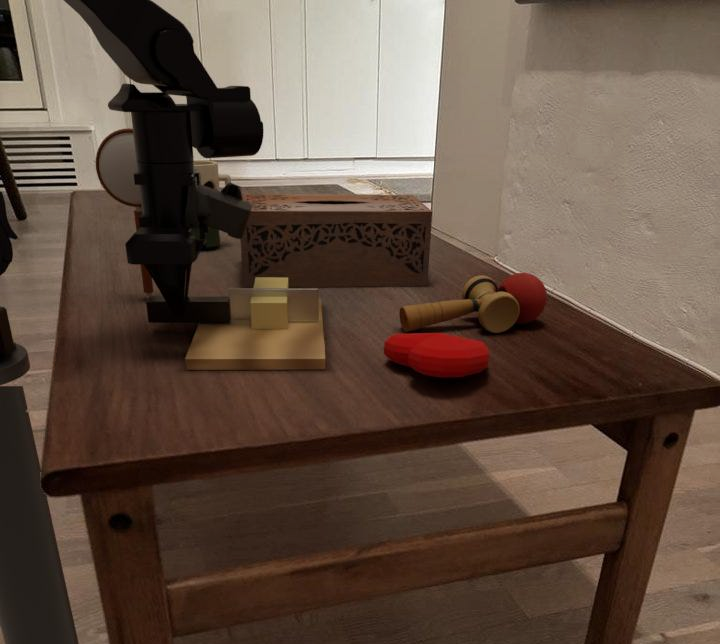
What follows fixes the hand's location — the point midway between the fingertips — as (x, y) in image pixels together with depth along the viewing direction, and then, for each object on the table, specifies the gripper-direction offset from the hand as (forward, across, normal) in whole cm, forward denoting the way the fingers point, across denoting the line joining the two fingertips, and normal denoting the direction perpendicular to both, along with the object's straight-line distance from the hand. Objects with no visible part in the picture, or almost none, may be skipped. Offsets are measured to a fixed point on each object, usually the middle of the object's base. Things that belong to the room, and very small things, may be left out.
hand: (179, 311), depth 83 cm
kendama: (+3, +2, -34) cm, 34 cm away
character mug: (+3, +44, +3) cm, 44 cm away
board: (+2, -1, -9) cm, 9 cm away
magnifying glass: (+3, +13, +6) cm, 15 cm away
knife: (+1, 0, -6) cm, 6 cm away
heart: (+3, -13, -28) cm, 31 cm away
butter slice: (+1, -1, -10) cm, 10 cm away
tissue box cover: (+3, +27, -18) cm, 33 cm away
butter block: (+1, +5, -10) cm, 11 cm away
